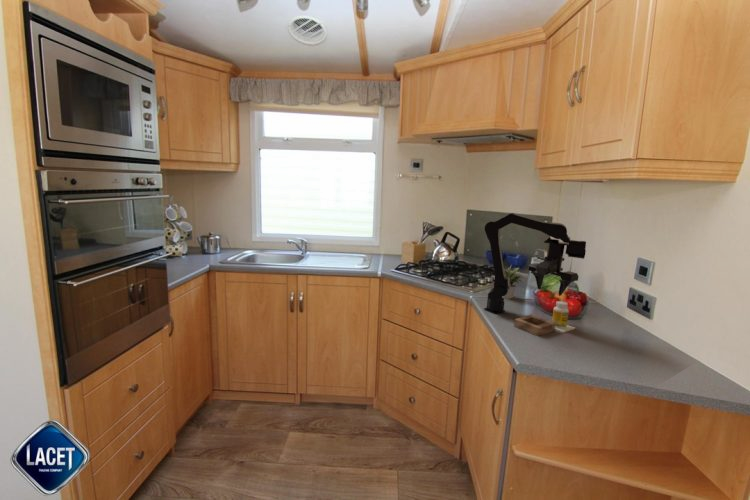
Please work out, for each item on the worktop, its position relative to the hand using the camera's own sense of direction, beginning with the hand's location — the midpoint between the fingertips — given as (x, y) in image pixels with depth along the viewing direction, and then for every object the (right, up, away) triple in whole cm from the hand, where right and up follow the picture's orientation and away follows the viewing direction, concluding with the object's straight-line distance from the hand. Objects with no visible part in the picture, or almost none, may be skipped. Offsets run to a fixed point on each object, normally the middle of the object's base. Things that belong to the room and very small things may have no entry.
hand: (549, 292), depth 152 cm
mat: (+2, -13, -5) cm, 14 cm away
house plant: (-7, -6, +31) cm, 33 cm away
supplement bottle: (+1, -13, -5) cm, 14 cm away
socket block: (-9, -13, -8) cm, 18 cm away
